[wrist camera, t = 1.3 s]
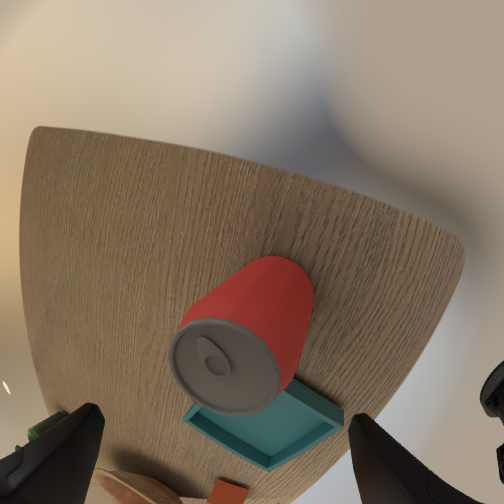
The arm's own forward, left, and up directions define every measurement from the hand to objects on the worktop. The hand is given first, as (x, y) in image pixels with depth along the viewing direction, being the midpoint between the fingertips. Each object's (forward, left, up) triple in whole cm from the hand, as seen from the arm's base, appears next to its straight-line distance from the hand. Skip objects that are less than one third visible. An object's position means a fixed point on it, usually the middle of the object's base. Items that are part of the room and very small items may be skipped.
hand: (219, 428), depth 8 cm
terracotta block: (-14, +33, -16) cm, 40 cm away
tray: (-6, +13, -16) cm, 22 cm away
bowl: (-7, +50, -16) cm, 53 cm away
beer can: (+1, +1, -16) cm, 16 cm away
